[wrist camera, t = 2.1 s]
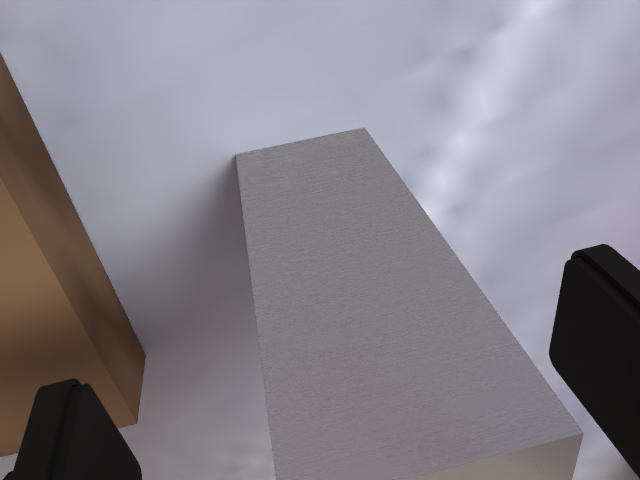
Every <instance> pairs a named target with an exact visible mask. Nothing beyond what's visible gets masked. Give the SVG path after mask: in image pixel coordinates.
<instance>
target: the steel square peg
mask: <svg viewBox="0 0 640 480" xmlns="http://www.w3.org/2000/svg"><path fill="white" fill-rule="evenodd" d="M236 162H237V170H238V178H239V186H240V194H241V202H242V210H243V218H244V226H245V234H246V243H247V251H248V259H249V267H250V275H251V283H252V291H253V299H254V307H255V315H256V323H257V331H258V339H259V347H260V355H261V363H262V371H263V379H264V387H265V395H266V403H267V411H268V419H269V427H270V435H271V443H272V451H273V459H274V467H275V475H276V480H572V477H573V473H574V469H575V465H576V461H577V457H578V453H579V449H580V445H581V441H582V437H583V431H582V430H581V429H580V427H579V426H578V424H577V423H576V422H575V420H574V419H573V417H572V416H571V415H570V413H569V412H568V411H567V409H566V408H565V406H564V405H563V404H562V402H561V401H560V399H559V398H558V397H557V395H556V394H555V392H554V391H553V390H552V388H551V387H550V385H549V384H548V383H547V381H546V380H545V378H544V377H543V376H542V374H541V373H540V371H539V370H538V369H537V367H536V366H535V364H534V363H533V362H532V360H531V359H530V357H529V356H528V355H527V353H526V352H525V351H524V349H523V348H522V346H521V345H520V344H519V342H518V341H517V339H516V338H515V337H514V335H513V334H512V332H511V331H510V330H509V328H508V327H507V325H506V324H505V323H504V321H503V320H502V318H501V317H500V316H499V314H498V313H497V311H496V310H495V309H494V307H493V306H492V304H491V303H490V302H489V300H488V299H487V297H486V296H485V295H484V293H483V292H482V291H481V289H480V288H479V286H478V285H477V284H476V282H475V281H474V279H473V278H472V277H471V275H470V274H469V272H468V271H467V270H466V268H465V267H464V265H463V264H462V263H461V261H460V260H459V258H458V257H457V256H456V254H455V253H454V251H453V250H452V249H451V247H450V246H449V244H448V243H447V242H446V240H445V239H444V237H443V236H442V235H441V233H440V232H439V231H438V229H437V228H436V226H435V225H434V224H433V222H432V221H431V219H430V218H429V217H428V215H427V214H426V212H425V211H424V210H423V208H422V207H421V205H420V204H419V203H418V201H417V200H416V198H415V197H414V196H413V194H412V193H411V191H410V190H409V189H408V187H407V186H406V184H405V183H404V182H403V180H402V179H401V178H400V176H399V175H398V173H397V172H396V171H395V169H394V168H393V166H392V165H391V164H390V162H389V161H388V159H387V158H386V157H385V155H384V154H383V152H382V151H381V150H380V148H379V147H378V145H377V144H376V143H375V141H374V140H373V138H372V137H371V136H370V134H369V133H368V131H367V130H366V129H365V128H361V129H356V130H351V131H347V132H342V133H337V134H332V135H327V136H323V137H318V138H313V139H308V140H304V141H299V142H294V143H289V144H284V145H280V146H275V147H270V148H265V149H261V150H256V151H251V152H246V153H241V154H237V155H236Z"/></svg>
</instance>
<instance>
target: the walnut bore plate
mask: <svg viewBox="0 0 640 480" xmlns="http://www.w3.org/2000/svg"><path fill="white" fill-rule="evenodd" d="M145 358H146V355H145V353H144V351H143V349H142V347H141V345H140V343H139V341H138V339H137V336H136V334H135V332H134V330H133V328H132V326H131V324H130V322H129V320H128V318H127V316H126V314H125V311H124V309H123V307H122V305H121V303H120V301H119V299H118V297H117V295H116V293H115V291H114V289H113V287H112V284H111V282H110V280H109V278H108V276H107V274H106V272H105V270H104V268H103V266H102V264H101V262H100V259H99V257H98V255H97V253H96V251H95V249H94V247H93V245H92V243H91V241H90V239H89V237H88V234H87V232H86V230H85V228H84V226H83V224H82V222H81V220H80V218H79V216H78V214H77V212H76V209H75V207H74V205H73V203H72V201H71V199H70V197H69V195H68V193H67V191H66V189H65V187H64V184H63V182H62V180H61V178H60V176H59V174H58V172H57V170H56V168H55V166H54V164H53V162H52V160H51V157H50V155H49V153H48V151H47V149H46V147H45V145H44V143H43V141H42V139H41V137H40V135H39V132H38V130H37V128H36V126H35V124H34V122H33V120H32V118H31V116H30V114H29V112H28V110H27V107H26V105H25V103H24V101H23V99H22V97H21V95H20V93H19V91H18V89H17V87H16V85H15V82H14V80H13V78H12V76H11V74H10V72H9V70H8V68H7V66H6V64H5V62H4V60H3V58H2V55H1V53H0V457H3V456H7V455H11V454H15V453H19V450H20V446H21V443H22V440H23V436H24V433H25V430H26V426H27V423H28V419H29V416H30V413H31V409H32V406H33V403H34V399H35V396H36V393H37V391H38V389H39V388H40V387H41V386H45V385H49V384H53V383H57V382H61V381H65V380H69V379H73V378H75V379H77V380H78V381H79V382H80V383H81V385H82V384H86V383H88V384H90V385H91V387H92V388H93V390H94V391H95V393H96V395H97V396H98V398H99V399H100V401H101V403H102V404H103V406H104V408H105V409H106V411H107V412H108V414H109V416H110V417H111V419H112V421H113V422H114V424H115V425H116V427H117V428H121V427H125V426H129V425H133V424H137V420H138V412H139V405H140V397H141V389H142V381H143V373H144V366H145Z"/></svg>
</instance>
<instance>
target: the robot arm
mask: <svg viewBox="0 0 640 480" xmlns="http://www.w3.org/2000/svg"><path fill="white" fill-rule="evenodd" d="M549 356H550V360H551V362H552V365H553V366H554V368H555V369H556V371H557V372H558V373H559V375H560V376H561V377H562V379H563V380H564V381H565V382H566V384H567V385H568V386H569V388H570V389H571V390H572V391H573V393H574V394H575V395H576V397H577V398H578V399H579V401H580V402H581V403H582V404H583V406H584V407H585V408H586V410H587V411H588V412H589V414H590V415H591V416H592V417H593V419H594V420H595V421H596V423H597V424H598V425H599V426H600V428H601V429H602V430H603V432H604V433H605V434H606V436H607V437H608V438H609V439H610V441H611V442H612V443H613V445H614V446H615V447H616V449H617V450H618V451H619V452H620V454H621V455H622V456H623V458H624V459H625V460H626V461H627V463H628V464H629V465H630V467H631V468H632V469H633V471H634V472H635V473H636V474H637V476H638V477H639V478H640V271H639V270H638V269H637V268H636V267H635V266H633V265H632V264H631V263H630V262H629V261H627V260H626V259H625V258H624V257H623V256H621V255H620V254H619V253H618V252H617V251H616V250H614V249H613V248H612V247H610V246H609V245H606V244H601V245H597V246H593V247H589V248H585V249H581V250H578V251H575V252H574V253H573V254H572V256H571V259H570V260H568V261H567V262H566V263H565V267H564V272H563V278H562V283H561V288H560V294H559V299H558V305H557V310H556V316H555V321H554V327H553V332H552V338H551V343H550V349H549ZM3 480H142V473H141V468H140V465H139V463H138V461H137V459H136V458H135V456H134V455H133V453H132V451H131V450H130V448H129V446H128V445H127V443H126V442H125V440H124V438H123V437H122V435H121V434H120V432H119V430H118V429H117V427H116V425H115V424H114V422H113V421H112V419H111V417H110V416H109V414H108V412H107V411H106V409H105V408H104V406H103V404H102V403H101V401H100V399H99V398H98V396H97V395H96V393H95V391H94V390H93V388H92V387H91V385H90V384H88V383H86V384H82V385H81V383H80V382H79V381H78V380H77V379H75V378H73V379H69V380H65V381H61V382H57V383H53V384H49V385H45V386H41V387H40V388H39V389H38V391H37V393H36V396H35V399H34V403H33V406H32V409H31V413H30V416H29V419H28V423H27V426H26V430H25V433H24V436H23V440H22V443H21V446H20V450H19V453H18V456H17V460H16V463H15V467H14V470H13V471H11V472H9V473H8V474H7V475H6V476H5V477H4V479H3Z"/></svg>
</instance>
